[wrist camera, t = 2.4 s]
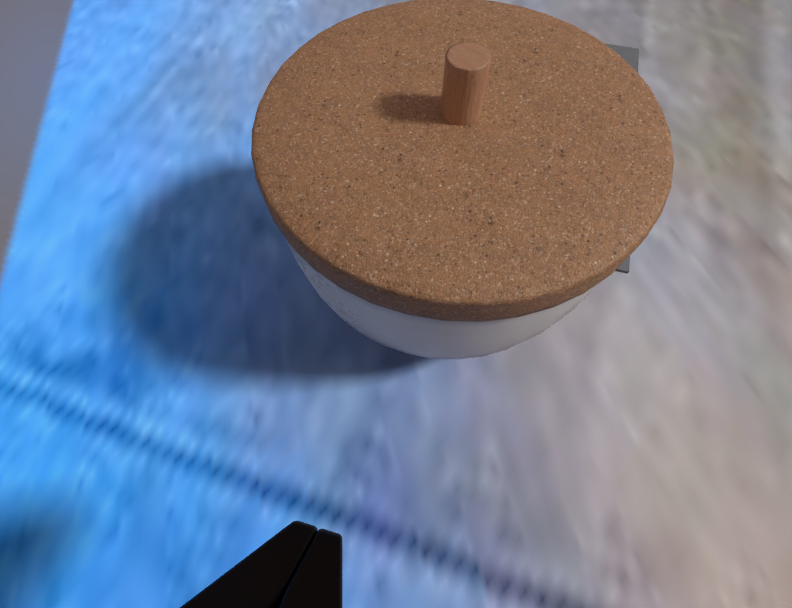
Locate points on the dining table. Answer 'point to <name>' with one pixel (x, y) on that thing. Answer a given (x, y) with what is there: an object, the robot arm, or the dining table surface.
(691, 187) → the dining table surface
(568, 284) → the lidded bowl
